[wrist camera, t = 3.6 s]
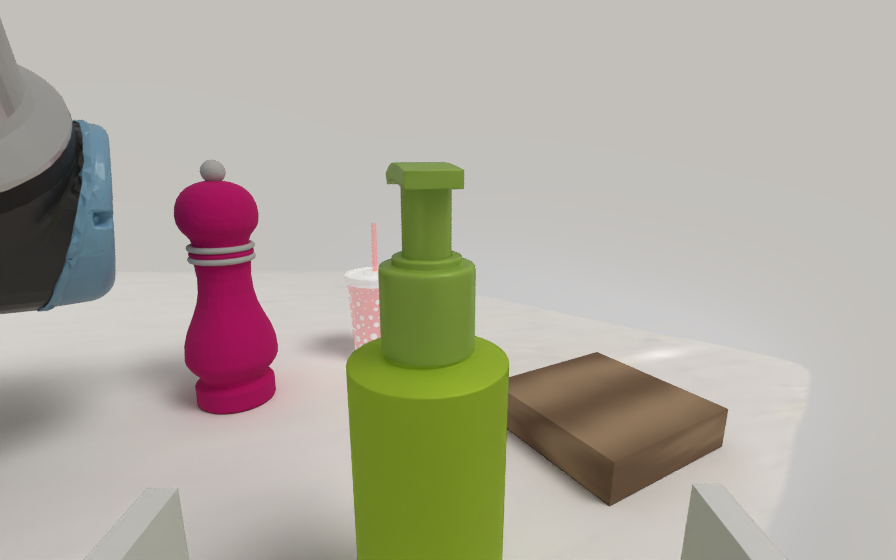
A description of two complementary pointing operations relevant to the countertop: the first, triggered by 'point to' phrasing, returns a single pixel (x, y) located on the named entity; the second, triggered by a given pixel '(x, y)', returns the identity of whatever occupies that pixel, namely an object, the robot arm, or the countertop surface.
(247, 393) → the pepper mill
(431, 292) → the soap dispenser
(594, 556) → the countertop surface
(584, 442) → the plinth
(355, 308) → the beverage cup
